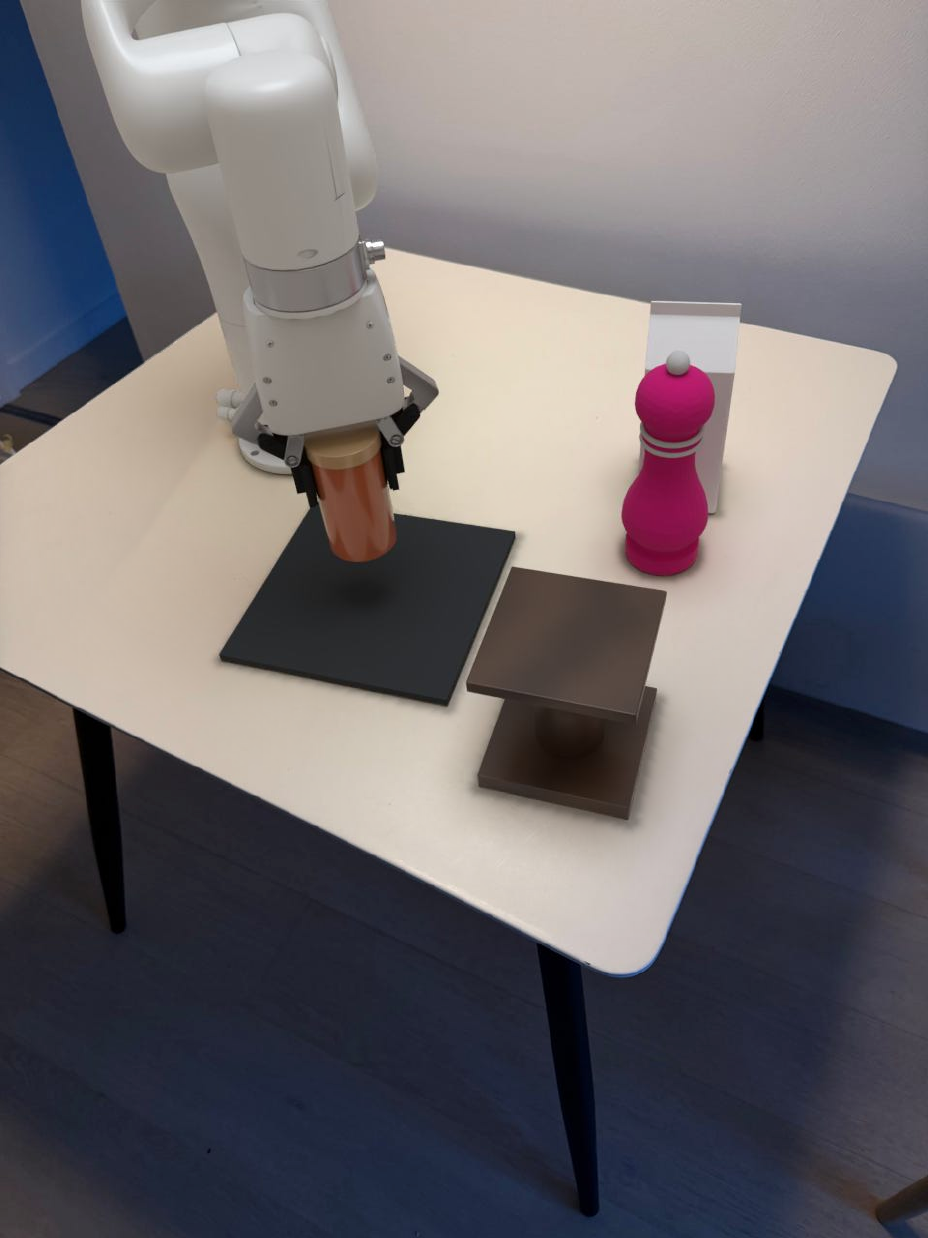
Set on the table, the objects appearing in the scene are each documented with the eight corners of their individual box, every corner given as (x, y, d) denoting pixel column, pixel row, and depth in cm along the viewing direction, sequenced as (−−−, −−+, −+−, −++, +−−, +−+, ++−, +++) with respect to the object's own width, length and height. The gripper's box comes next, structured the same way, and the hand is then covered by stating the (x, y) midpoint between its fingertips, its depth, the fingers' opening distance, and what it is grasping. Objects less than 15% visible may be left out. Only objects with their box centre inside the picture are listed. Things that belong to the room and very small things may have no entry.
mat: (220, 660, 83) (218, 654, 82) (315, 507, 95) (314, 500, 95) (447, 706, 77) (446, 700, 77) (515, 537, 90) (515, 531, 89)
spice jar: (316, 557, 80) (289, 451, 72) (344, 511, 84) (320, 406, 76) (383, 568, 78) (362, 461, 71) (408, 521, 82) (390, 414, 74)
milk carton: (715, 515, 90) (741, 327, 76) (636, 509, 91) (647, 324, 77) (717, 466, 95) (742, 281, 81) (642, 461, 96) (654, 279, 82)
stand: (478, 787, 72) (465, 682, 63) (518, 674, 79) (511, 565, 70) (628, 820, 69) (636, 715, 60) (656, 700, 76) (667, 590, 67)
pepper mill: (682, 590, 84) (706, 389, 69) (605, 563, 87) (612, 365, 72) (715, 539, 88) (744, 339, 73) (640, 515, 91) (654, 318, 76)
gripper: (425, 222, 68) (449, 439, 81) (173, 267, 66) (240, 481, 79) (447, 272, 62) (470, 495, 75) (174, 323, 61) (246, 541, 74)
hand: (351, 486), depth 77 cm, fingers closed on spice jar, 5 cm apart
